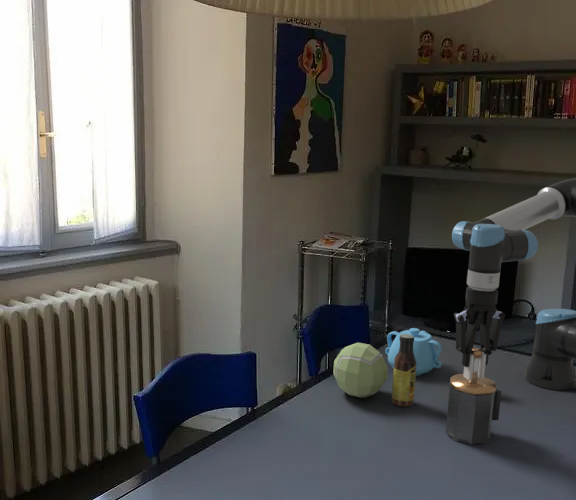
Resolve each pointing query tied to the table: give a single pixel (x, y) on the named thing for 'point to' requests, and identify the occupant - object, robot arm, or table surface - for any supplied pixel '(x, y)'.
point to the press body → (471, 416)
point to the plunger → (473, 380)
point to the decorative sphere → (360, 370)
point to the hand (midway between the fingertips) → (473, 377)
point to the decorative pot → (416, 350)
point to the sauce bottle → (404, 373)
